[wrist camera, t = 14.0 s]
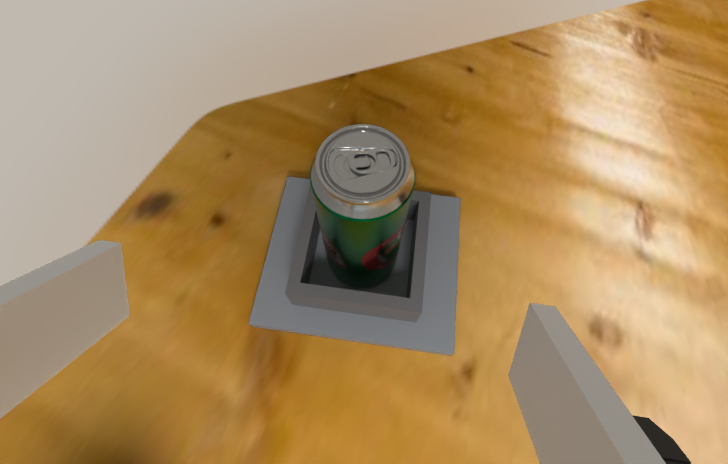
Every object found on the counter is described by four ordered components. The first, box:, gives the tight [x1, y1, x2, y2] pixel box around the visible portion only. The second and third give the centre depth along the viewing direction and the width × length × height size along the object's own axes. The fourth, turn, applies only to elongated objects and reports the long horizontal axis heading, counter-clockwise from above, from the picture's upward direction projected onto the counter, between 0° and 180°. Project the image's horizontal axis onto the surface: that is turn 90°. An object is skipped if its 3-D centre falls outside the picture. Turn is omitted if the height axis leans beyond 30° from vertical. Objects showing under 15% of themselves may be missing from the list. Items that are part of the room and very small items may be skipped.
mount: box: [248, 176, 460, 356], centre depth 27 cm, size 14×12×4 cm
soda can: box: [310, 124, 416, 288], centre depth 23 cm, size 5×5×12 cm
